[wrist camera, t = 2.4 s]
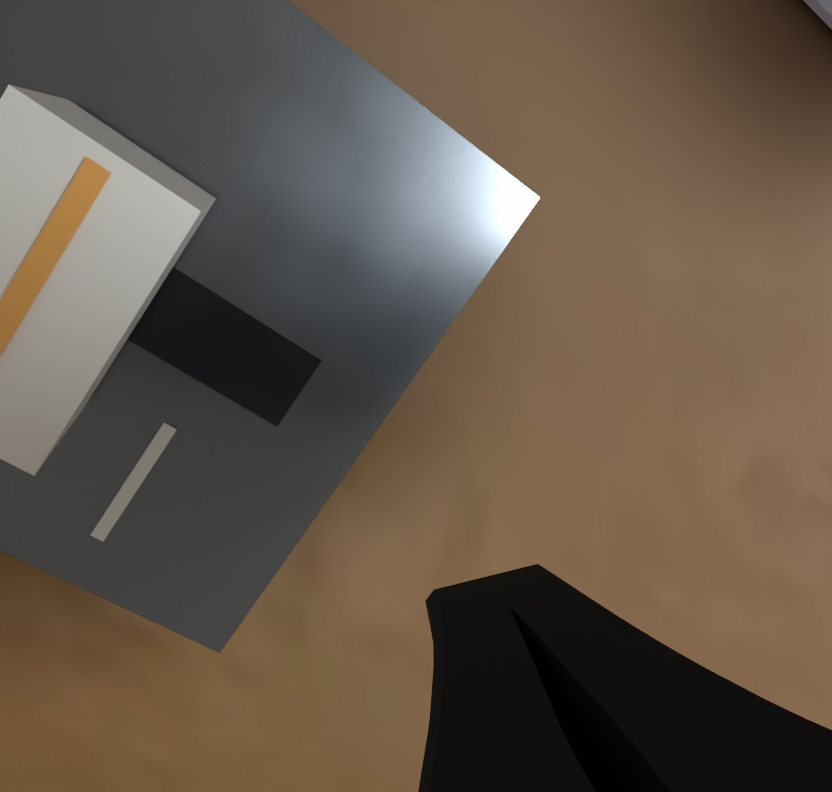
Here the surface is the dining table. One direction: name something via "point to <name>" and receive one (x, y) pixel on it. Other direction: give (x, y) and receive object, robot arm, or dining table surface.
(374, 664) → the dining table surface
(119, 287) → the fader
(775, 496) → the dining table surface
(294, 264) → the console
